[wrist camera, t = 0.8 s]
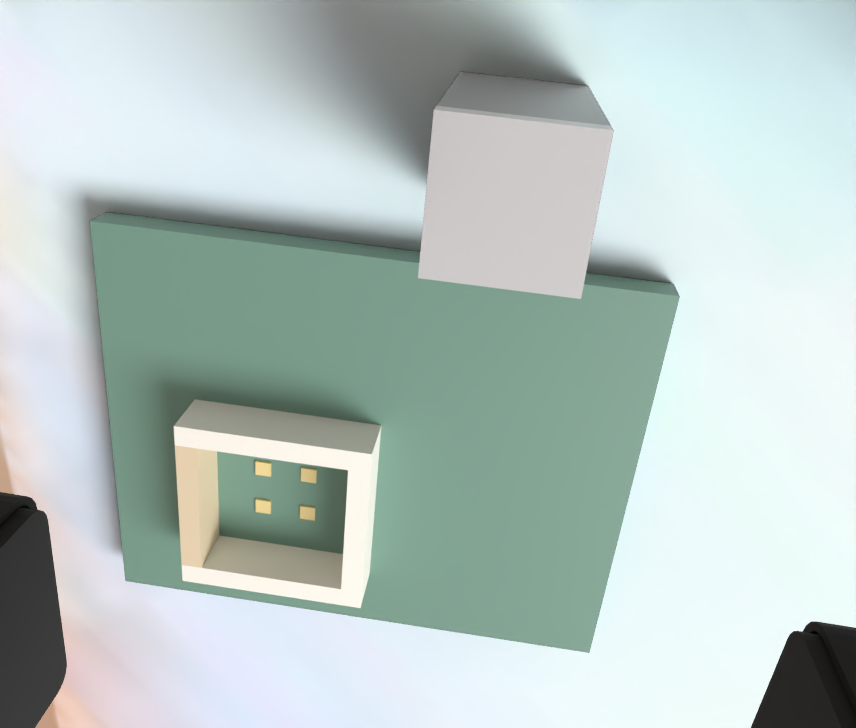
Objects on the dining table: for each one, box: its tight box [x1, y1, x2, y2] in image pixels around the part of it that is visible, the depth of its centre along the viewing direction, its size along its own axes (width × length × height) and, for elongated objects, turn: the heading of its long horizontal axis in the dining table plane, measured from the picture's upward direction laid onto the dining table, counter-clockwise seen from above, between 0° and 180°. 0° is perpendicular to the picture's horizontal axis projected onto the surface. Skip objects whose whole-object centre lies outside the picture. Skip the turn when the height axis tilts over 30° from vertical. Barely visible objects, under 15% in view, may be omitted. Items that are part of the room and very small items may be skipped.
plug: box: [418, 71, 614, 299], centre depth 22 cm, size 4×4×8 cm
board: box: [90, 212, 680, 653], centre depth 30 cm, size 16×20×3 cm
